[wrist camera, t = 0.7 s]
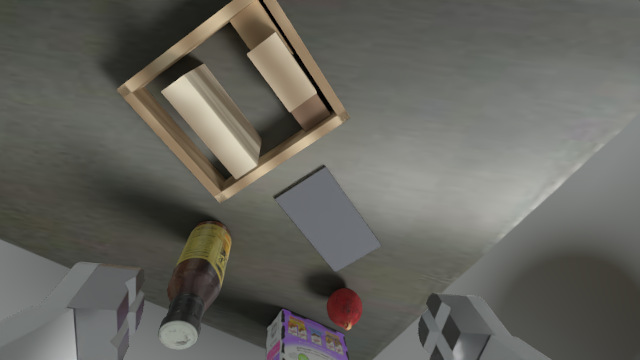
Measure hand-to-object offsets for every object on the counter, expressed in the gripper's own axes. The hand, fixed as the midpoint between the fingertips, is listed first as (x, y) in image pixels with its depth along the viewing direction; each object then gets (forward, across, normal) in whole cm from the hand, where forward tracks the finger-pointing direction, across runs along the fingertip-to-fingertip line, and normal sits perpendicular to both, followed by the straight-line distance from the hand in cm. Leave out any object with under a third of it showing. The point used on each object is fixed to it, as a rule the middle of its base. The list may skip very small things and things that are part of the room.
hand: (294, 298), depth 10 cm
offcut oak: (+40, +3, -6) cm, 41 cm away
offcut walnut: (+40, -3, +1) cm, 40 cm away
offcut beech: (+37, 0, -2) cm, 37 cm away
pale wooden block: (+40, +6, +4) cm, 41 cm away
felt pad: (+40, -11, +19) cm, 46 cm away
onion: (+41, -16, +33) cm, 55 cm away
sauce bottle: (+41, +7, +24) cm, 48 cm away
